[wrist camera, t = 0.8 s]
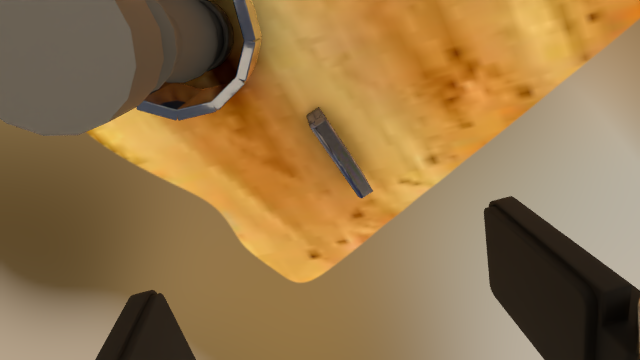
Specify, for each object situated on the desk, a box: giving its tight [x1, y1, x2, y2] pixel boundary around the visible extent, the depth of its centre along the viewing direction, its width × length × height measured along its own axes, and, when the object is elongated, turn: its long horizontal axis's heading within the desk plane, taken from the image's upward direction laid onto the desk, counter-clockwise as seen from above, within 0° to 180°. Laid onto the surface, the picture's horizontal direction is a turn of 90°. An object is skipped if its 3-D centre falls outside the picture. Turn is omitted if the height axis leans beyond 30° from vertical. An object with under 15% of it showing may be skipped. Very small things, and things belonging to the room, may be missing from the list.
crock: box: [135, 0, 262, 120], centre depth 30 cm, size 11×11×10 cm
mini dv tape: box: [307, 107, 373, 198], centre depth 37 cm, size 8×2×6 cm, turn 34°
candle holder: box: [0, 0, 234, 136], centre depth 23 cm, size 6×6×25 cm
